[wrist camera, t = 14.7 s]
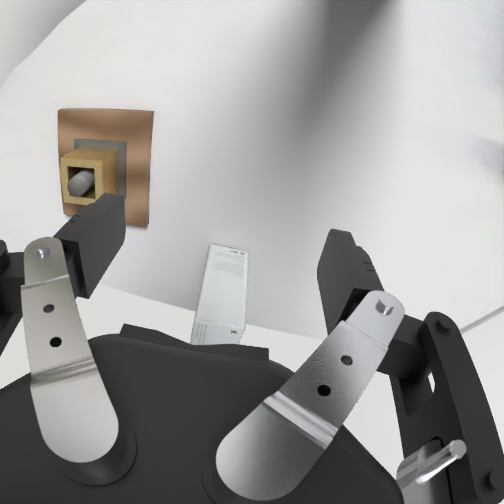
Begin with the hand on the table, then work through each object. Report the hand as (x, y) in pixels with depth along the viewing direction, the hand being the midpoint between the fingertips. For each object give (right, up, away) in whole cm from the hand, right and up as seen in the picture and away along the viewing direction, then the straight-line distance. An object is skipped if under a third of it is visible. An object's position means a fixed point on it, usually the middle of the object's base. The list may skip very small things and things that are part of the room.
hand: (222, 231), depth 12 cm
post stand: (-19, +11, +27) cm, 35 cm away
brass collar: (-19, +10, +26) cm, 34 cm away
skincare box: (-3, -3, +36) cm, 36 cm away
